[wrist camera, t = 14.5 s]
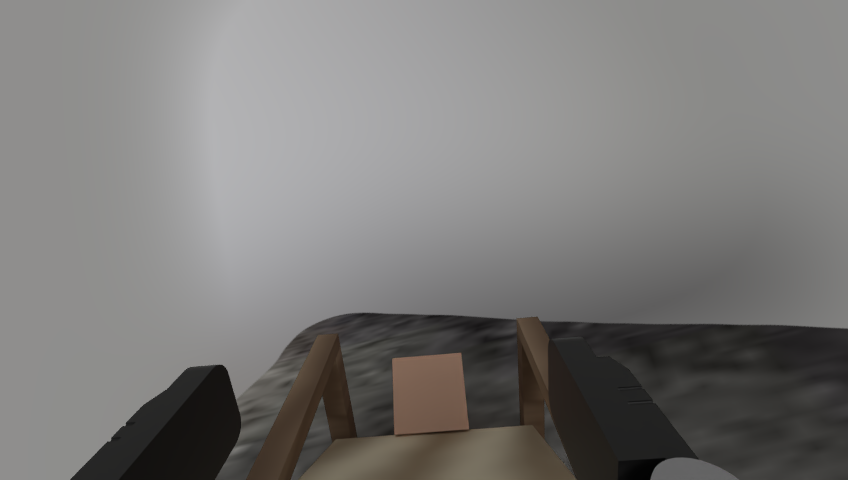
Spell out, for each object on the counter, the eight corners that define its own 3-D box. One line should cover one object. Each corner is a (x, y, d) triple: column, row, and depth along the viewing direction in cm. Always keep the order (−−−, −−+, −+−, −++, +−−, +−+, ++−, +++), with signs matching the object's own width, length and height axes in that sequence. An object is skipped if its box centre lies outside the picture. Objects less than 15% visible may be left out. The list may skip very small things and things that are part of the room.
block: (469, 429, 27) (466, 434, 35) (461, 352, 29) (460, 375, 38) (394, 434, 27) (410, 438, 36) (392, 358, 29) (407, 379, 38)
